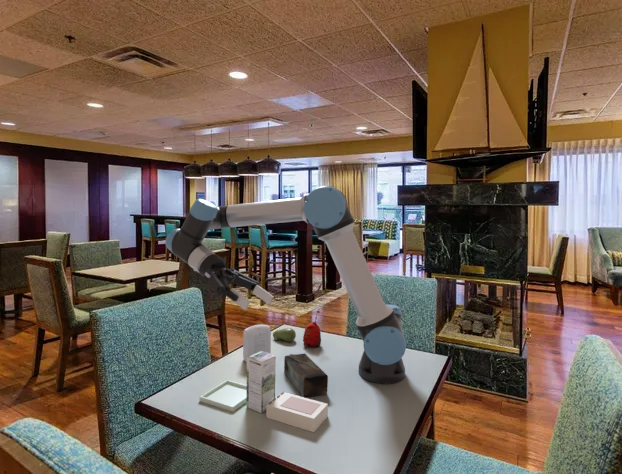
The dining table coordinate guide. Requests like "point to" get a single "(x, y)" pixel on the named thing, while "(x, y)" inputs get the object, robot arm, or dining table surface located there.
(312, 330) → the red clay folk toy
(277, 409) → the pink-topped slotted block
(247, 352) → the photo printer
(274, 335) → the pear
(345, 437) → the dining table surface
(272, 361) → the syrup box
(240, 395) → the tray
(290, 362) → the beverage carton
